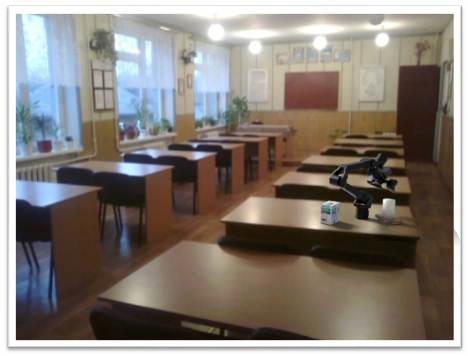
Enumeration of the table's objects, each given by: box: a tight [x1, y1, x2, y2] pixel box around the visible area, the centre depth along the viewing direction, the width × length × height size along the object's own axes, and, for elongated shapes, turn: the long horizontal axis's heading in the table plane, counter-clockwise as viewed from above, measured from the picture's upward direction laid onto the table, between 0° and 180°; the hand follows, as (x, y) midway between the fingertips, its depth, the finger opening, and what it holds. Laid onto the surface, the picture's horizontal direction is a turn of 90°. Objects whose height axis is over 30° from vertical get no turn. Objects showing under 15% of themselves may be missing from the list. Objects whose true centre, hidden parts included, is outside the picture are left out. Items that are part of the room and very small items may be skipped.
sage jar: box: [381, 198, 396, 219], centre depth 243 cm, size 6×6×10 cm
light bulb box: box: [320, 200, 341, 226], centre depth 241 cm, size 11×7×11 cm, turn 143°
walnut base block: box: [374, 213, 403, 225], centre depth 244 cm, size 10×14×2 cm
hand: (388, 190), depth 258 cm, fingers open, 9 cm apart
